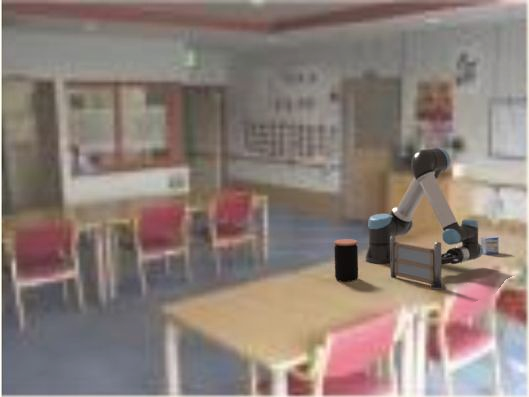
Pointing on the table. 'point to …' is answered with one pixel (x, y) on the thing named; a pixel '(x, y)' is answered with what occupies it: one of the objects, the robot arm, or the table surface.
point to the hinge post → (437, 268)
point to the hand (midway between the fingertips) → (423, 263)
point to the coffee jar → (346, 260)
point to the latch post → (392, 256)
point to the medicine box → (490, 245)
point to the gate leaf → (414, 262)
